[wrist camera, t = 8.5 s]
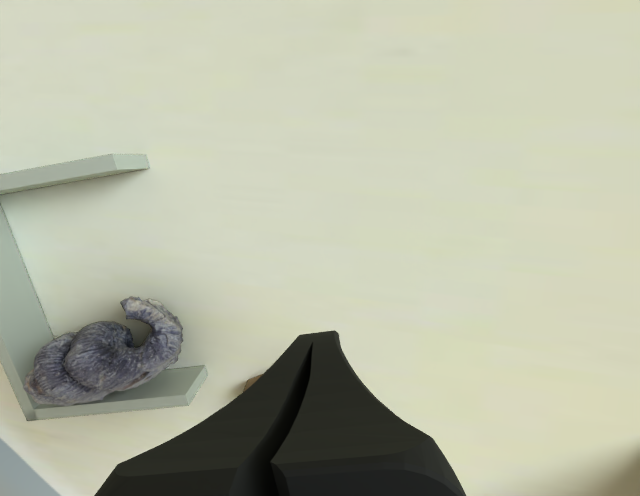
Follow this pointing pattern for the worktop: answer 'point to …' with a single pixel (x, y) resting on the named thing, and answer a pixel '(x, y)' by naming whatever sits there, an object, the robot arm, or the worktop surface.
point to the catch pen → (29, 320)
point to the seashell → (105, 357)
